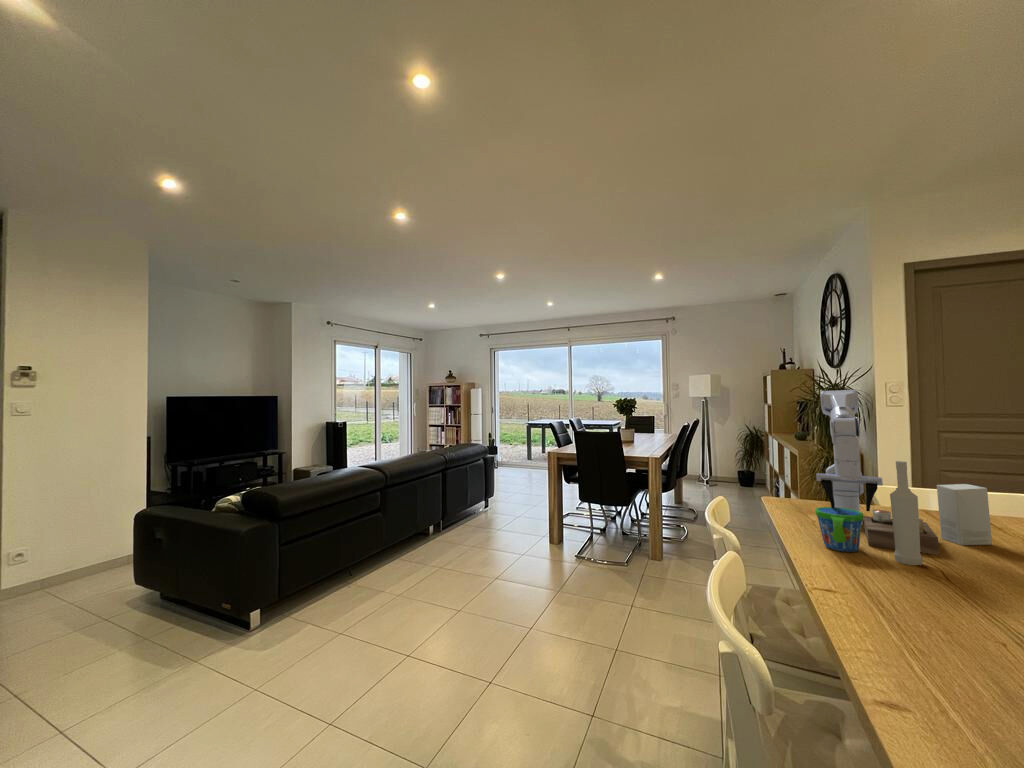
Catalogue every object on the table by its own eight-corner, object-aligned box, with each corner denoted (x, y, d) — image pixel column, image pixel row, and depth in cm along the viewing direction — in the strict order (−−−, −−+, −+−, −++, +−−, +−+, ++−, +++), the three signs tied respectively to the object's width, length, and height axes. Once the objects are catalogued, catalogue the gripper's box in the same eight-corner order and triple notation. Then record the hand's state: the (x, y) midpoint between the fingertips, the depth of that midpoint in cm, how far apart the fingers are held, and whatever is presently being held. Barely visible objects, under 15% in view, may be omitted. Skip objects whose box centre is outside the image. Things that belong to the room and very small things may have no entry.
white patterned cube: (873, 523, 127) (872, 508, 127) (890, 525, 124) (889, 510, 124) (874, 527, 123) (873, 511, 124) (892, 529, 121) (891, 513, 121)
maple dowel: (903, 532, 118) (901, 516, 118) (922, 534, 116) (921, 518, 116) (905, 536, 115) (903, 519, 115) (925, 538, 113) (924, 521, 113)
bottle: (928, 566, 102) (920, 463, 103) (903, 565, 103) (896, 463, 104) (913, 558, 107) (905, 460, 108) (889, 557, 108) (882, 460, 109)
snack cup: (823, 537, 125) (821, 503, 126) (869, 545, 118) (866, 508, 118) (811, 551, 114) (809, 513, 115) (861, 560, 107) (858, 519, 107)
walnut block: (864, 530, 130) (863, 515, 130) (927, 538, 122) (926, 522, 122) (868, 545, 117) (867, 529, 117) (939, 555, 109) (937, 537, 109)
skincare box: (971, 538, 121) (966, 483, 121) (995, 546, 114) (990, 488, 115) (939, 538, 121) (934, 483, 122) (961, 546, 115) (956, 488, 116)
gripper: (814, 460, 121) (817, 508, 120) (881, 463, 111) (885, 515, 111) (816, 457, 126) (819, 503, 125) (880, 460, 117) (883, 509, 116)
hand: (850, 508), depth 118 cm, fingers open, 7 cm apart
